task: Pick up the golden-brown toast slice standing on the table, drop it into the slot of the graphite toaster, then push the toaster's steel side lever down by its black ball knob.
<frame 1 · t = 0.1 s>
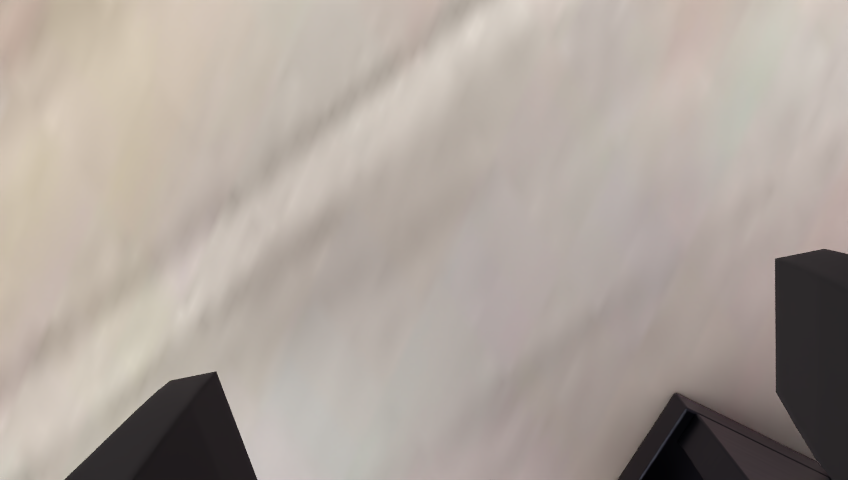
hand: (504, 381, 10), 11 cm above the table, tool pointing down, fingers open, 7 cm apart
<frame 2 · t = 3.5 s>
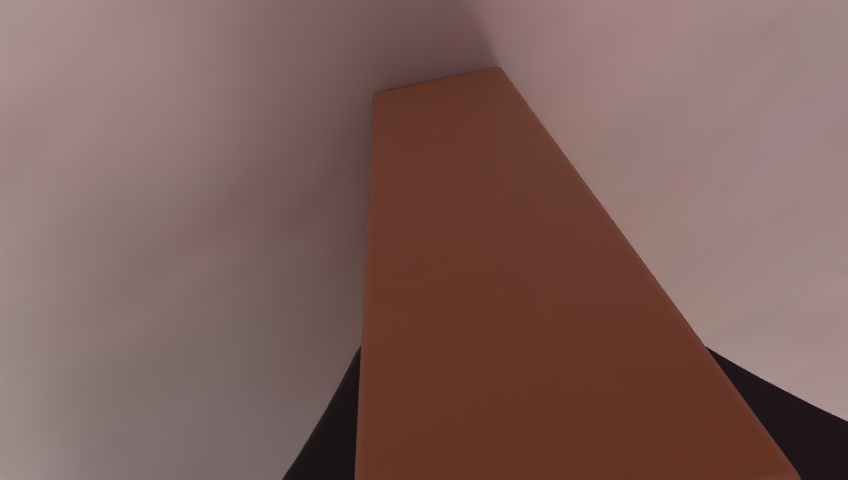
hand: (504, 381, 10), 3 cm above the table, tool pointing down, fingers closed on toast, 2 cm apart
toast: (473, 265, 13), on the table, touching gripper
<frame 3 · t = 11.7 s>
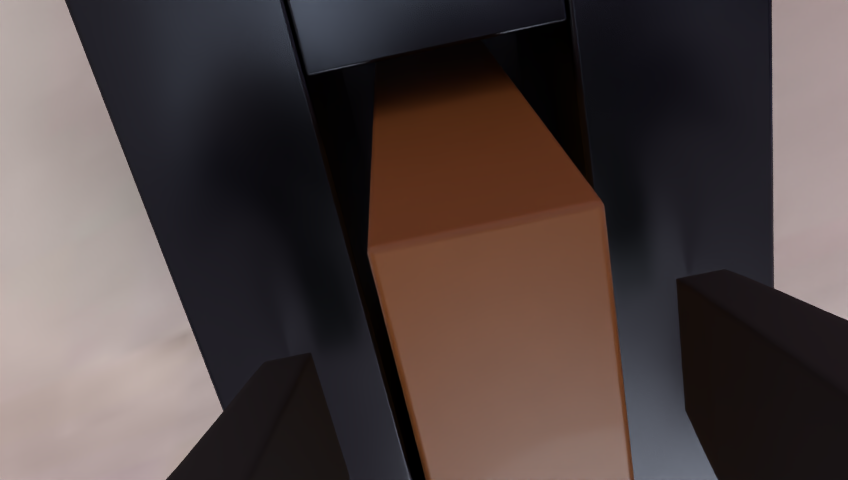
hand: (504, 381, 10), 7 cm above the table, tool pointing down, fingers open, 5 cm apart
toast: (456, 198, 16), point 1 cm above the table, touching toaster
toaster: (454, 188, 16), on the table
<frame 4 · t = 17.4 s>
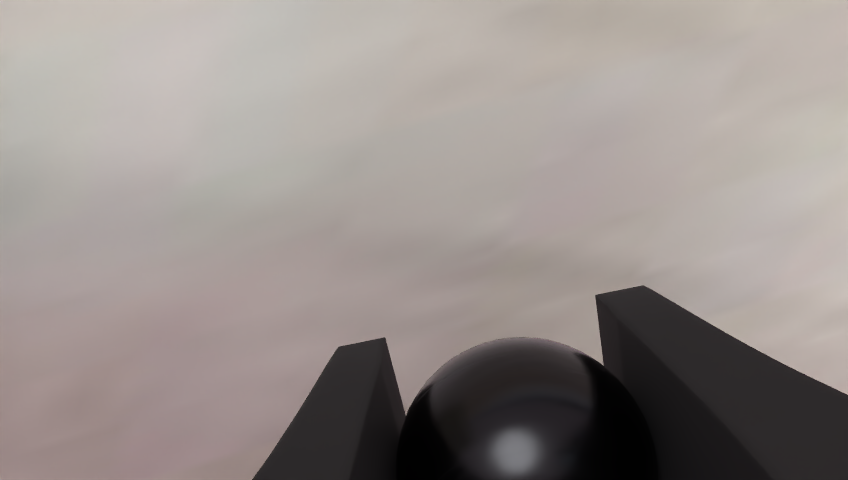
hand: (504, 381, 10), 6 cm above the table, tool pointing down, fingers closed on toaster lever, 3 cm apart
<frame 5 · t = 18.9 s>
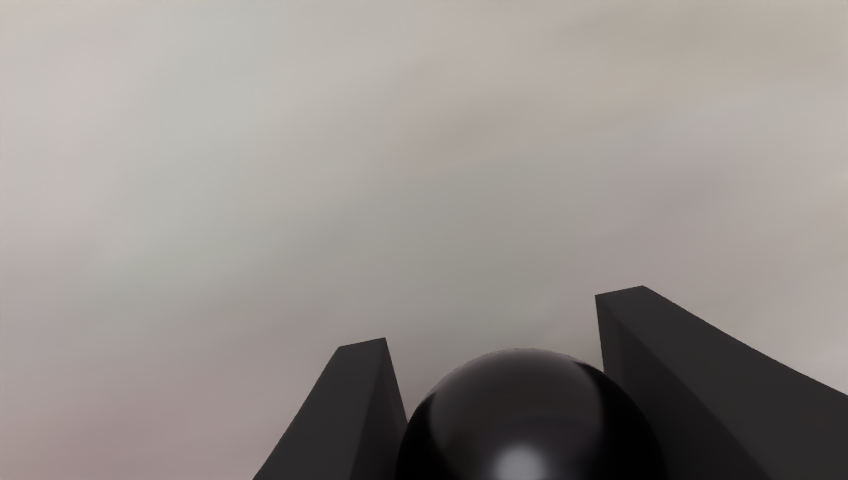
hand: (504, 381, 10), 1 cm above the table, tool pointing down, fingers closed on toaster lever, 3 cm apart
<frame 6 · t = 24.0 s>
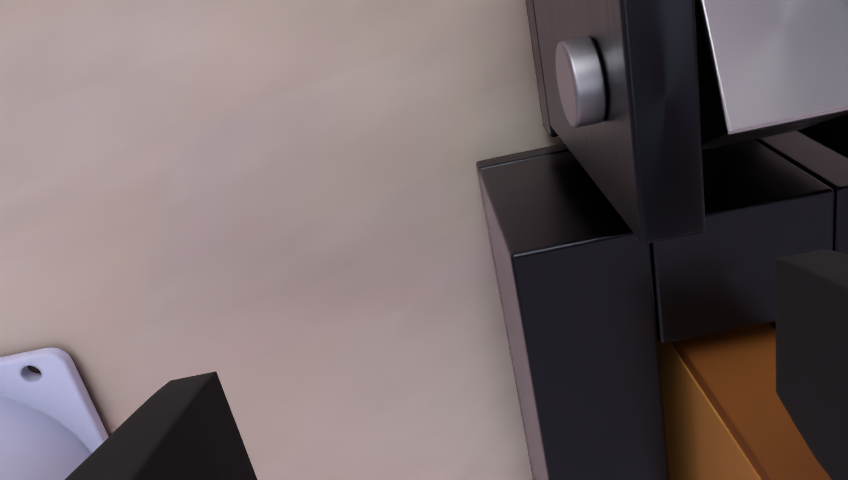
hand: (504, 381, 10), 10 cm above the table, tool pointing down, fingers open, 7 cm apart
toast: (670, 357, 21), point 1 cm above the table, touching toaster
lever bracket: (634, 3, 17), on the table
toaster: (662, 346, 21), on the table
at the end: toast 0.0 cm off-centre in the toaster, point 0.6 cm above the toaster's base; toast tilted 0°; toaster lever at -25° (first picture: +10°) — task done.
